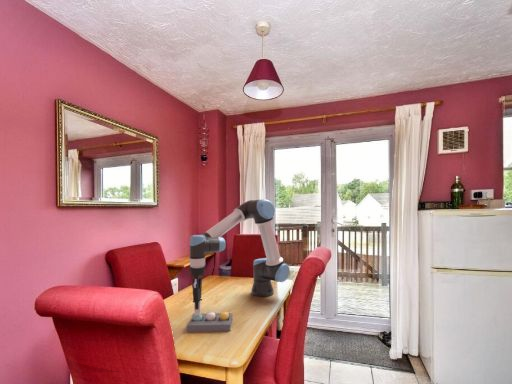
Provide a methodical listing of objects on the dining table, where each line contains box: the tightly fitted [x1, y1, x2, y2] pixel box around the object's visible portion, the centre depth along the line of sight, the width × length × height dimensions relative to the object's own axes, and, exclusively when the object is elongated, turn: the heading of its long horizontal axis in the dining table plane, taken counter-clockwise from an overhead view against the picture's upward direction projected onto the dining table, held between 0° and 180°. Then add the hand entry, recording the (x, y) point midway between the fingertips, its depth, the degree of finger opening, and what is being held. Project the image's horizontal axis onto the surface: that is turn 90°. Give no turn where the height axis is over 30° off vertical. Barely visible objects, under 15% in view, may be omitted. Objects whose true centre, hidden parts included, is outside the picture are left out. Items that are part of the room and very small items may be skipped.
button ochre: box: [219, 311, 230, 321], centre depth 132 cm, size 4×4×3 cm
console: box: [186, 312, 233, 333], centre depth 131 cm, size 20×14×3 cm
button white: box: [205, 311, 216, 321], centre depth 131 cm, size 4×4×3 cm
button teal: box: [192, 313, 203, 321], centre depth 131 cm, size 4×4×3 cm
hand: (197, 315), depth 131 cm, fingers closed
